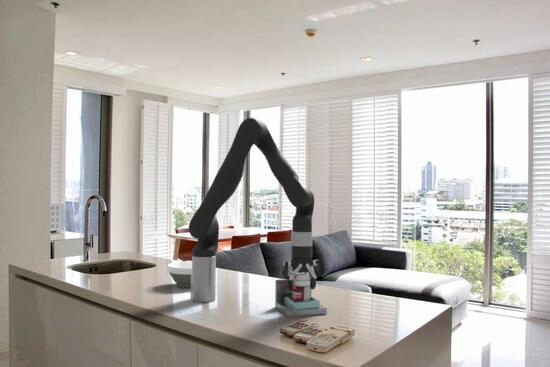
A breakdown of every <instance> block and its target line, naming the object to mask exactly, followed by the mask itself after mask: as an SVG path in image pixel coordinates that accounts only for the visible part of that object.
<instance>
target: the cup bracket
mask: <svg viewBox="0 0 550 367" xmlns="http://www.w3.org/2000/svg"><path fill="white" fill-rule="evenodd" d="M310 278H311V277H309V279H307V280H308V281H309V282H310ZM292 280H293V281H294V280H296V279H294V278H293V279H292ZM274 284H275V288H274V290H275V292H274V293H275V294H274V295H275V298H274V299H275V300H274V301H275V302H274V306H275V308H276V309H277V310H278V311H280V312H281V313H283V314H284V315H285V316H287V317H288V318H296V317H297V318H298V317H299V318H300V317H308V316H318V315H327V314H328V312H327V310H328V309H327V307H326V306H324V305H323V304H320V300H319V299H318V298H315V297H314V296H312V289H311V288H310V301H301V302H295V301H293V290H292V291H290V290H289V289H288V288H287V279H285V278H282V279H281V278H280V279H275V283H274Z"/></svg>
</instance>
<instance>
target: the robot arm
mask: <svg viewBox="0 0 550 367" xmlns="http://www.w3.org/2000/svg"><path fill="white" fill-rule="evenodd" d="M253 146H256V148H258V149H259V151H261V153H262V155H263V156H264V158H265V159H266V161H267V164H268V167H269V169H270V171H271V173H272V174H273V176H274V177H275V180H277V181H278V183H279V184H280V186H281V187H282V189H283V191H284V194H285V195H286V197H287V199H288V201H289V202H290V204H291V205H292V206H293V207H295V215H294V216H293V217H292V226H291V227H292V228H291V229H292V230H291V231H292V232H291V241H290V242H291V254H290V255H291V256H290V258H291V259H290V261H287V260H283V261H282V268H281V270H282V271H281V278H282V279H287V288H288V289H289V290H290V291H292V290H293V280H292V279H294V276H295V275H296V274H297V273H308V274H309V278H310V288H311V290H315V288H316V287H317V278H320V277H321V276H322V265H321V263H322V262H321V260H320V259H318V258H317V259H313V232H312V231H313V214H314V208H315V196H314V193H313V191H311V190H310V189H308V188H305V187H303V185H302V184H301V182H300V180H299V179H300V178H299V175H298V174H297V173H296V171H295V170H294V168H293V167H292V165H291V164H290V163H289V162H288V160H287V159H286V157H285V156H284V154H283V153H282V152H281V150H280V148H279V147H278V145H277V144H276V142H275V140H274V138H273V136H272V133H271V132H270V130H269V128H268V125H267V124H266V123H265V122H263V121H261V120H259V119H256V118H254V117H248V118H245V119H244V120H243V121H241V123H240V125H239V126H238V129H237V131H236V133H235V136H234V139H233V141H232V144H231V145H230V149H229V150H228V152H227V155H225V158H224V159H223V162H222V164H221V166H220V167H219V169H218V171H217V173H216V175H215V176H214V179H213V181H212V184H211V185H210V187H209V189H208V191H207V193H206V194H205V196H204V198H203V200H202V202H201V203H200V205H199V207H198V208H197V209H196V210H195V213H194V214H193V216H192V217H191V219H190V220H189V224H188V232H189V234H190V236H191V237H192V238H193V239H197V242H196V244H195V246H194V247H193V248H192V252H191V253H192V254H191V255H192V256H191V261H192V274H191V288H190V301H192V302H193V303H209V302H214V301H215V300H216V289H217V288H216V285H217V284H216V282H217V281H216V278H217V274H216V272H217V271H216V270H217V269H216V267H217V265H216V264H217V250H218V247H219V236H220V234H219V233H220V227H219V226H220V225H219V221H218V219H217V217H216V215H217V213H218V212H219V210H220V209H221V208H222V207H223V205H225V204H226V202H228V200H230V198H231V197H232V196H233V195H234V194H235V192H236V190H237V188H239V185H240V183H241V181H242V178H243V175H244V171H245V170H244V169H245V163H246V159H247V157H248V154H249V152H250V151H251V149H252V148H253ZM290 266H291V268H290V270H289V267H290ZM312 266H314V269H315V270H313V268H312Z"/></svg>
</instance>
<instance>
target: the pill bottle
mask: <svg viewBox="0 0 550 367" xmlns="http://www.w3.org/2000/svg"><path fill="white" fill-rule="evenodd" d="M309 278H310V275H309V273H308V272H307V273H297V274H296V275H295V276H294V277H293V279H296V280H294V281H293V301H295V302H301V301H310V282H309V281H308V280H307V279H309Z"/></svg>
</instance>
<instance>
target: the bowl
mask: <svg viewBox="0 0 550 367" xmlns="http://www.w3.org/2000/svg"><path fill="white" fill-rule="evenodd" d="M167 270H168V273H169V275H170V276H171V278H172V280H173V281H174V283H175V284H176V286H177V287H178V286H180V287H179V288H181V287H186V288H185V289H191V274H192V260H189V261H175V262H171V263H169V264H167Z"/></svg>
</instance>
